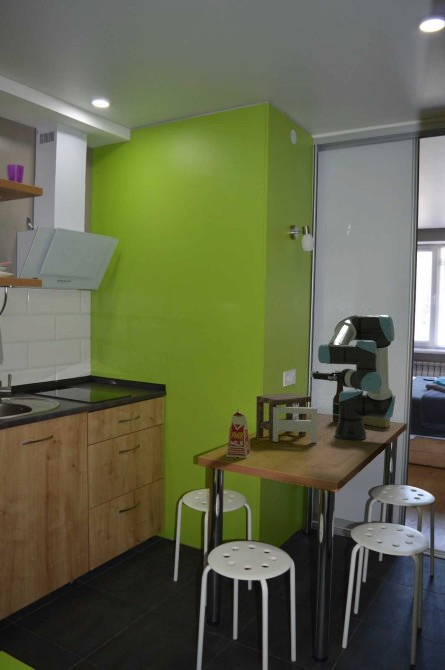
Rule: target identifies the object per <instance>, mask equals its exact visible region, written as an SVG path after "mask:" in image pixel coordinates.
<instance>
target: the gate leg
mask: <svg viewBox="0 0 445 670" xmlns="http://www.w3.org/2000/svg"><path fill="white" fill-rule="evenodd" d="M286 413H301V414H306V415H307V414H309V415H311V418H310V419H306V420H280V419H281V418H279V414H286ZM286 431H293V432H298V433H299V432H306V433H310V442H311V443H315V444H317V443H318V407H307V406H306V407H286V406H276V407H273V441H272V442H279V432H286Z"/></svg>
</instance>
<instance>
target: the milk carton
mask: <svg viewBox="0 0 445 670" xmlns="http://www.w3.org/2000/svg"><path fill="white" fill-rule="evenodd" d="M228 433H229V434H228V443H227V444H228V445H227V450H226V455H225V457H226V458H236V457H239V458H240V459H248V458H249V457H250V455H251V445H250V437H249V427H248V421H247V417H246V416H245V414H243V413H241V411H240V409H239V408H237V411H236V412H235V413H234V414H233V415H232V416H231V420H230V426H229V431H228Z"/></svg>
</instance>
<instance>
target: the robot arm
mask: <svg viewBox="0 0 445 670" xmlns="http://www.w3.org/2000/svg"><path fill="white" fill-rule="evenodd" d="M333 332H334V334H333V335H332V337H331V339H330V340H329V343H328V344H327V343H326V344H320V345H319V346H318V349H317V359H318V362H319V363H321V364H325V365H326V364H327V365H353V366H354V365H355V369H354V368H345V369H343V370H338V369H336V370H334V371H335V372H331V373H329V372H328V373H327V372H319V370H315V371H314V370H310V378H313V380H322V381H329V382H336V383H337V382H340V383H341V385H343V388H344V387H345V388H351V389H346V390H343V391H342V392H341V393H340V394H339V421H338V423H336V424H337V425H336V428H335V431H334V436H335V437H336V438H338V439H340V440H341V439H342V440H349V441H358V440H360V441H361V440H365V439H367V432H366V428H365V425H364V424H363V417H377V418H390V419H391V418H393V415H394V410H395V403H396V394H393V392H392V391H393V390H391V388H390V387H389V385H390V384H389V350H388V349H389V348H388V347H389V346H391V344H392V342H394V340H395V327H394V321H393V318H392V317H391V316H390V315H387V314H385V315H384V314H355V315H350V316H348V317H345V318H344V319H342V320H340V321H339V322H338V323H337V324H336V326H335V327H334V331H333ZM353 341H356V344H350V343H351V342H353Z"/></svg>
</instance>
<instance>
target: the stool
mask: <svg viewBox="0 0 445 670" xmlns="http://www.w3.org/2000/svg"><path fill="white" fill-rule="evenodd" d="M311 402H312V396H309V395H305V394H298V393H294V392H293V393H292V392H287V393H286V392H285V393H277V394H266V395H265V394H264V395H257V396H256V410H255V411H256V412H255V413H256V416H255V417H256V418H255V420H256V423H255V425H256V426H255V427H256V429H255V431H256V433H255V435H256V438H264V430H267V431H268V441H269V442H273V407H277V406H285V407H293V404H295V403H299V407H307V403H311ZM265 404H267V405H268V420H264V413H265V412H264V410H265ZM279 419H280V420H297V419H293V413H285V418H279ZM299 420H307V414H301V413H299ZM293 432H294V431H285V433H286V434H287V433H288V434H293ZM306 434H307V432H298V436H300V437H305V436H306Z"/></svg>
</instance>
